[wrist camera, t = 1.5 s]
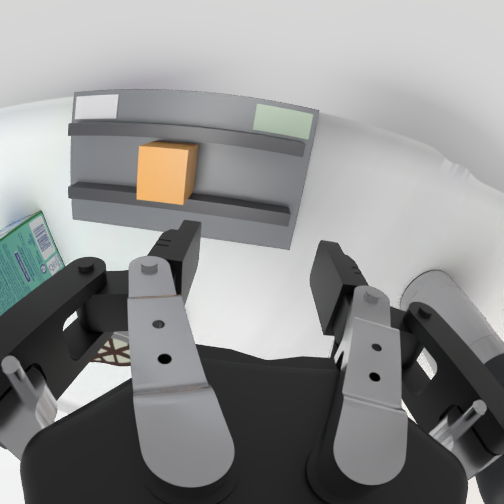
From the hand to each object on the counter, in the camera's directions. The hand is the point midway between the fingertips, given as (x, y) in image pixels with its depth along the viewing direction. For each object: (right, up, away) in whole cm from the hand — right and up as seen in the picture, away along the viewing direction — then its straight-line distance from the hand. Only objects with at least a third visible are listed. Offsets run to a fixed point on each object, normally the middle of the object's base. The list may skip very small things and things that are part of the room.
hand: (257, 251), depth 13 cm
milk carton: (-32, +1, +22) cm, 39 cm away
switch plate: (-7, +10, +17) cm, 21 cm away
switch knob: (-7, +8, +13) cm, 17 cm away
